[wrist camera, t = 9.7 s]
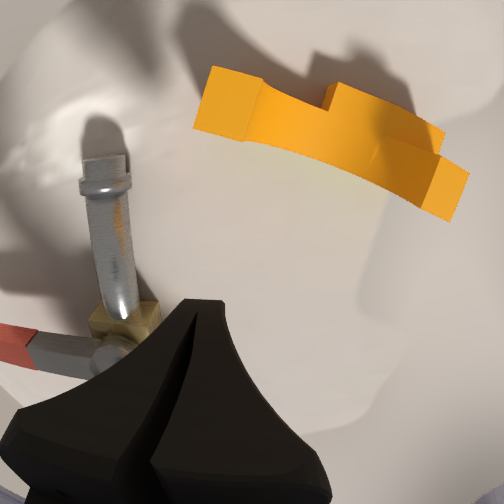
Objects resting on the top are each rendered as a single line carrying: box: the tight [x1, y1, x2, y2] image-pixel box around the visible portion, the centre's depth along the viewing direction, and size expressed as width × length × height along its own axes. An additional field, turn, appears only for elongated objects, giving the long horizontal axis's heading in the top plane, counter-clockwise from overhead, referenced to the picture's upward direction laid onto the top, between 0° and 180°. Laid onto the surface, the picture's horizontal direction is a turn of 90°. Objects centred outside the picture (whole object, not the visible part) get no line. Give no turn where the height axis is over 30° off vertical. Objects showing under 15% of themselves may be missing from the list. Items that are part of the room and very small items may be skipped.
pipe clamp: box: [193, 66, 470, 222], centre depth 14 cm, size 12×4×6 cm, turn 73°
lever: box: [0, 323, 137, 380], centre depth 18 cm, size 14×3×2 cm, turn 90°
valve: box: [78, 154, 161, 346], centre depth 20 cm, size 19×4×3 cm, turn 178°
